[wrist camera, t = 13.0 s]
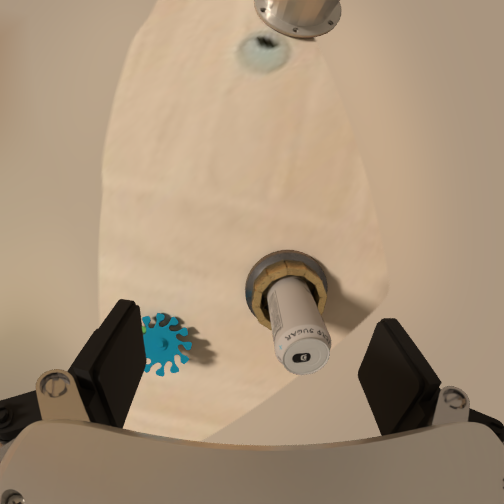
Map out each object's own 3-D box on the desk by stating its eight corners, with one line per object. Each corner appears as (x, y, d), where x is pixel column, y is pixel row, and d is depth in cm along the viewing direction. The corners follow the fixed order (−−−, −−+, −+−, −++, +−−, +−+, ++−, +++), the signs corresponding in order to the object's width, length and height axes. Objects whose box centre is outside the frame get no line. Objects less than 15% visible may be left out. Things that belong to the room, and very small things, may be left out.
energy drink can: (306, 308, 42) (332, 375, 28) (266, 311, 42) (276, 381, 28) (308, 271, 40) (338, 330, 26) (265, 273, 40) (276, 336, 26)
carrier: (250, 245, 40) (251, 255, 36) (332, 254, 41) (341, 266, 37) (241, 318, 44) (240, 335, 40) (315, 324, 45) (321, 340, 41)
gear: (203, 334, 43) (172, 388, 38) (199, 338, 48) (171, 386, 43) (144, 296, 42) (110, 348, 37) (145, 305, 48) (116, 351, 43)
